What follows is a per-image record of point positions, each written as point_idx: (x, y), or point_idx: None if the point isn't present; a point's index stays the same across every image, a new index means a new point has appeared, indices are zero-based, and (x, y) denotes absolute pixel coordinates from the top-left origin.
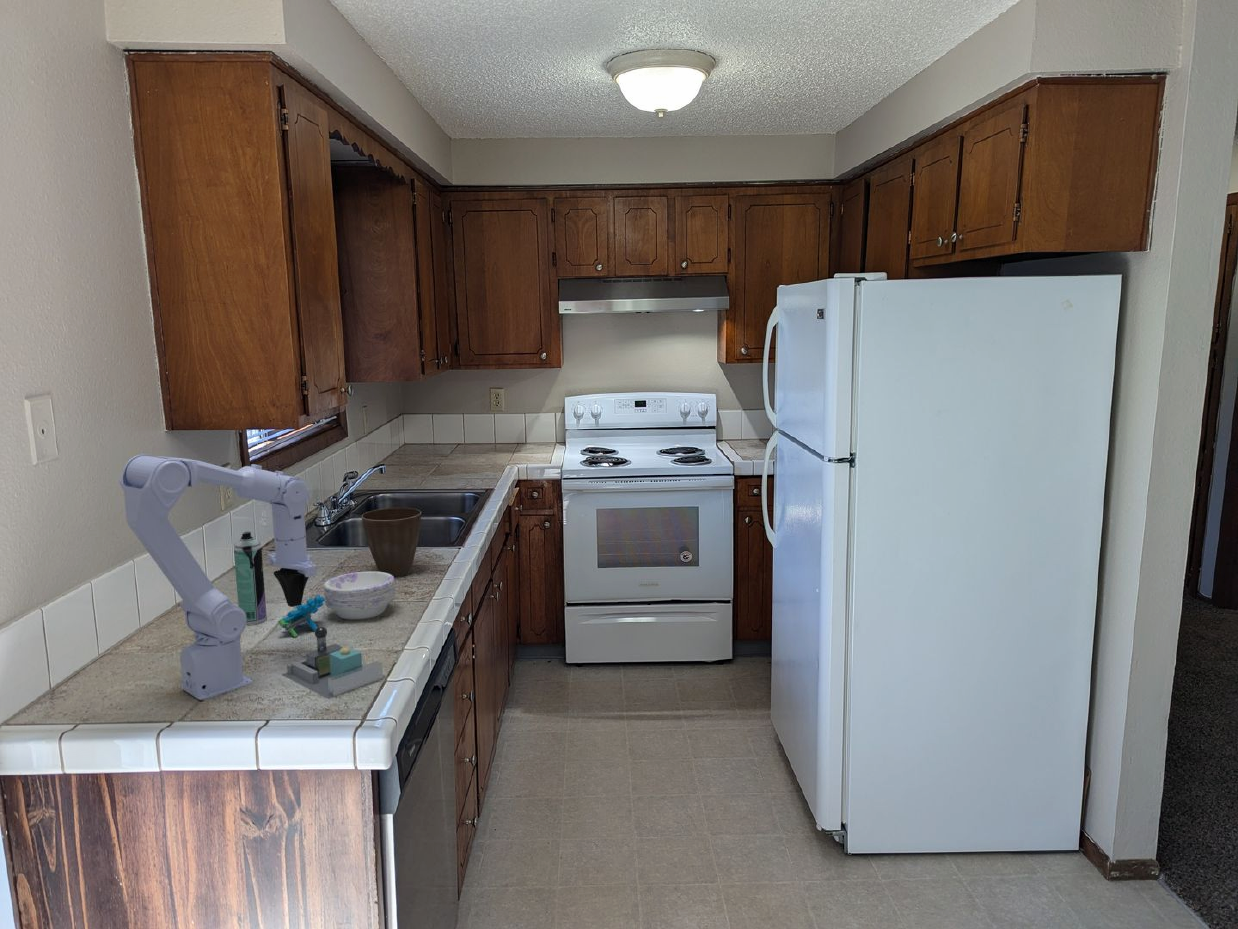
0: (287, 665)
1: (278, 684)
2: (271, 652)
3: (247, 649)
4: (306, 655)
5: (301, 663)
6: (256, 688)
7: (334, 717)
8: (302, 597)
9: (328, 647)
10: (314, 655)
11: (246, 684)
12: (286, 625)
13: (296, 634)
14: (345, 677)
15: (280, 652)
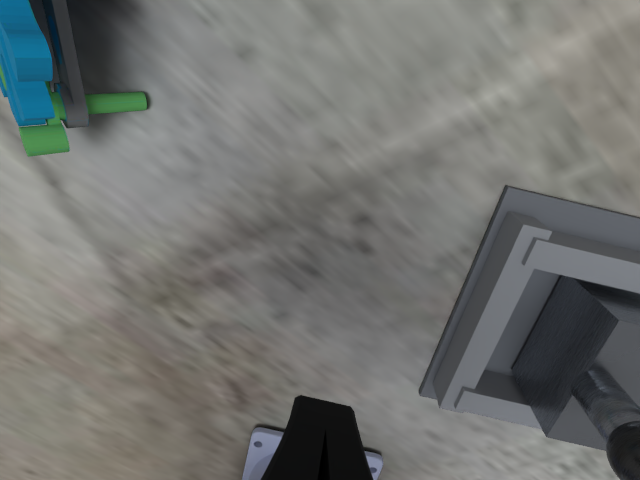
0: (442, 407)
1: (457, 430)
2: (210, 268)
3: (108, 284)
4: (546, 430)
5: (477, 376)
6: (414, 465)
7: None
8: (365, 455)
9: (612, 362)
10: (602, 440)
11: (378, 473)
12: (71, 125)
13: (139, 100)
14: None
15: (240, 255)
